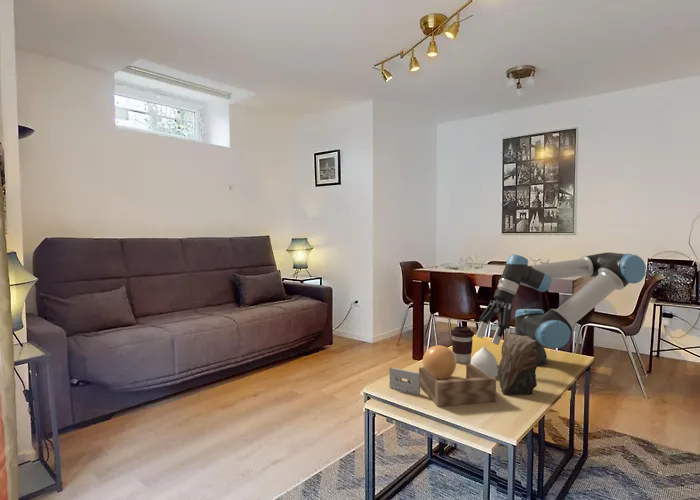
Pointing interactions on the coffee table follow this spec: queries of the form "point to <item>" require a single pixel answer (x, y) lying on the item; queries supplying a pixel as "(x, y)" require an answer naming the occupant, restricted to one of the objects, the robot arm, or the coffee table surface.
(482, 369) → the teardrop
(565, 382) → the coffee table surface
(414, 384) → the cassette
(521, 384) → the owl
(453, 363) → the ball
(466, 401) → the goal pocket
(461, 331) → the coffee cup
